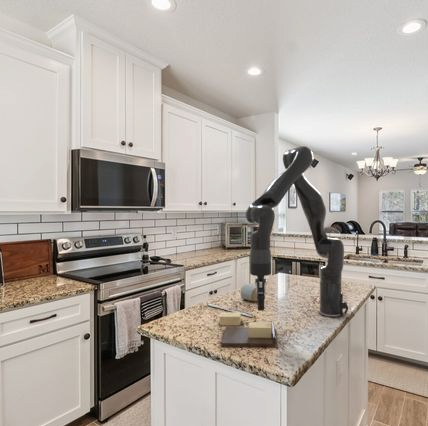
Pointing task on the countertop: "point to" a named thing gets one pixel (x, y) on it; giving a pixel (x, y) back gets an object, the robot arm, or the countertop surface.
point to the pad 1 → (230, 318)
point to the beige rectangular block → (260, 330)
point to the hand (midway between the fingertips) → (260, 306)
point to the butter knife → (228, 309)
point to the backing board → (245, 338)
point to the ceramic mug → (249, 292)
